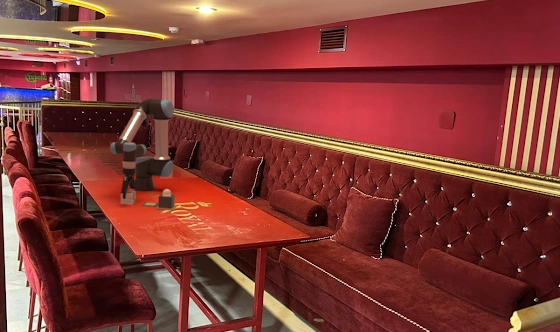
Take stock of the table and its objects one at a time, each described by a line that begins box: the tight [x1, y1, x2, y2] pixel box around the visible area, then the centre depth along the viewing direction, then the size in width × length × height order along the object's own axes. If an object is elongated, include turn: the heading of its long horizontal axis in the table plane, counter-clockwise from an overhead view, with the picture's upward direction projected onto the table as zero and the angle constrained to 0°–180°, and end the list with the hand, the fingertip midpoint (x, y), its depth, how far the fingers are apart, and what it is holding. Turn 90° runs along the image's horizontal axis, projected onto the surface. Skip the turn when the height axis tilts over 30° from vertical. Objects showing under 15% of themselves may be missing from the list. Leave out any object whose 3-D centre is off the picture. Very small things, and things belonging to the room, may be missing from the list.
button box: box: [155, 193, 177, 211], centre depth 289 cm, size 10×10×8 cm
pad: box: [141, 201, 158, 208], centre depth 294 cm, size 9×9×1 cm
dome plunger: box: [162, 188, 172, 197], centre depth 289 cm, size 5×5×10 cm
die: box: [120, 190, 137, 206], centre depth 294 cm, size 7×7×7 cm
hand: (128, 201), depth 294 cm, fingers open, 13 cm apart
